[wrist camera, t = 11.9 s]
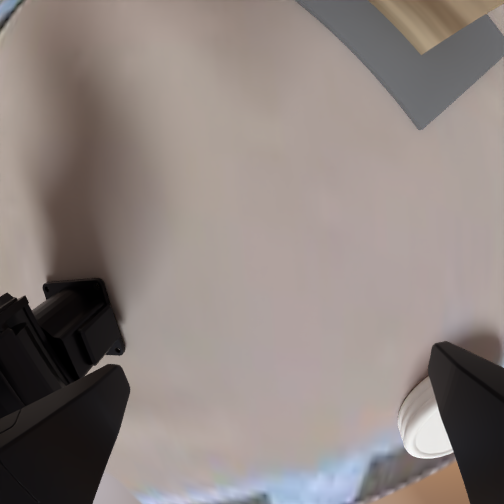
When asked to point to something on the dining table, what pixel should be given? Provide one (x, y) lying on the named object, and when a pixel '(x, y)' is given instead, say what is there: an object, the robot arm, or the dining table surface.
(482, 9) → the beech block
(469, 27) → the charcoal mat
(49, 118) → the dining table surface
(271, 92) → the dining table surface
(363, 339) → the dining table surface
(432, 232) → the dining table surface
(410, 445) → the white short cylinder
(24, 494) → the robot arm
